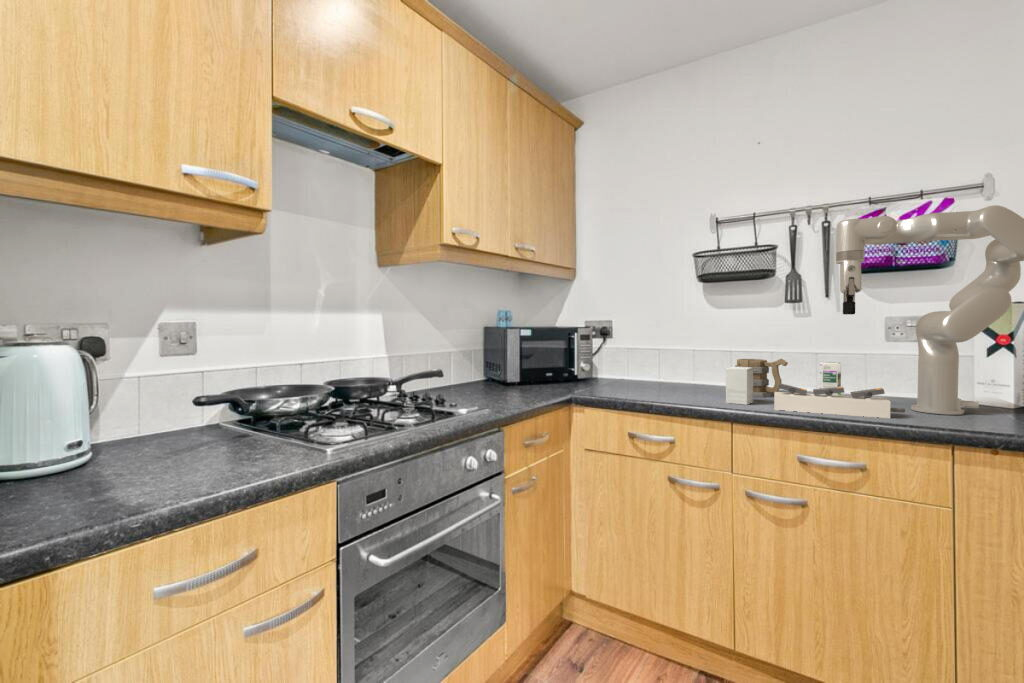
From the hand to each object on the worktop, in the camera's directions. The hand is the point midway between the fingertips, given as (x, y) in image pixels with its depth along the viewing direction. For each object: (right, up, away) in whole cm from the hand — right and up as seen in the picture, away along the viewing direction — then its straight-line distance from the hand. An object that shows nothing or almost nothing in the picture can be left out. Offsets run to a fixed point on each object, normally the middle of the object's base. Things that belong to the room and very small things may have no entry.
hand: (848, 314), depth 157 cm
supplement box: (-29, -31, +14) cm, 45 cm away
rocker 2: (-10, -25, -5) cm, 27 cm away
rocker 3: (-1, -25, -10) cm, 27 cm away
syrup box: (+2, -31, +12) cm, 33 cm away
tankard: (-14, -30, +29) cm, 44 cm away
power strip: (-8, -31, -6) cm, 33 cm away
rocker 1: (-19, -25, 0) cm, 31 cm away
